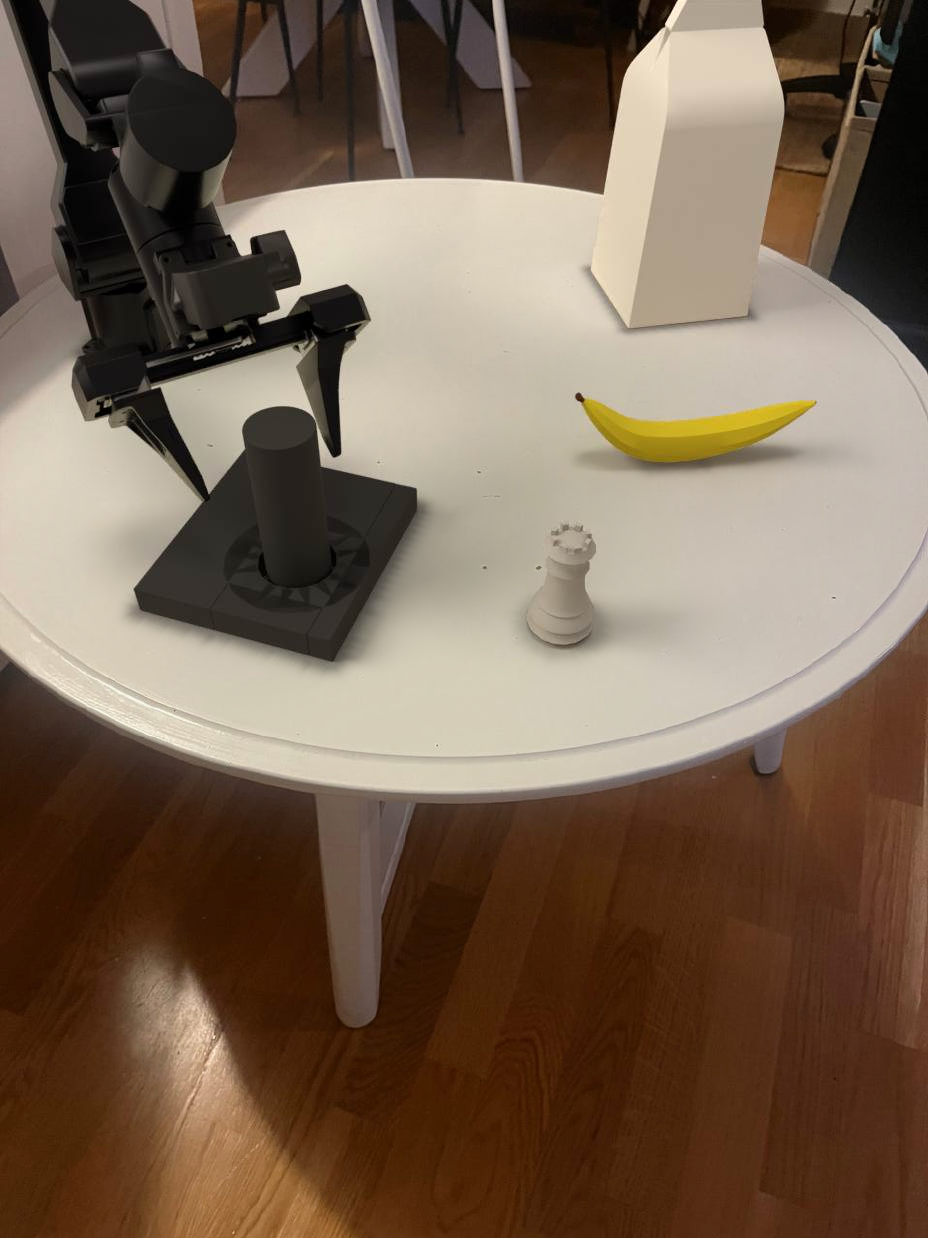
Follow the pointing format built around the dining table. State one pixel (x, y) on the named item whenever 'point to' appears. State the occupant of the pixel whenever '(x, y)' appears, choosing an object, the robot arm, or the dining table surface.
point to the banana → (690, 431)
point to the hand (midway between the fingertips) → (273, 478)
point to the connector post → (288, 495)
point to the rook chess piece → (564, 587)
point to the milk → (691, 168)
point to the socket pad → (234, 565)
